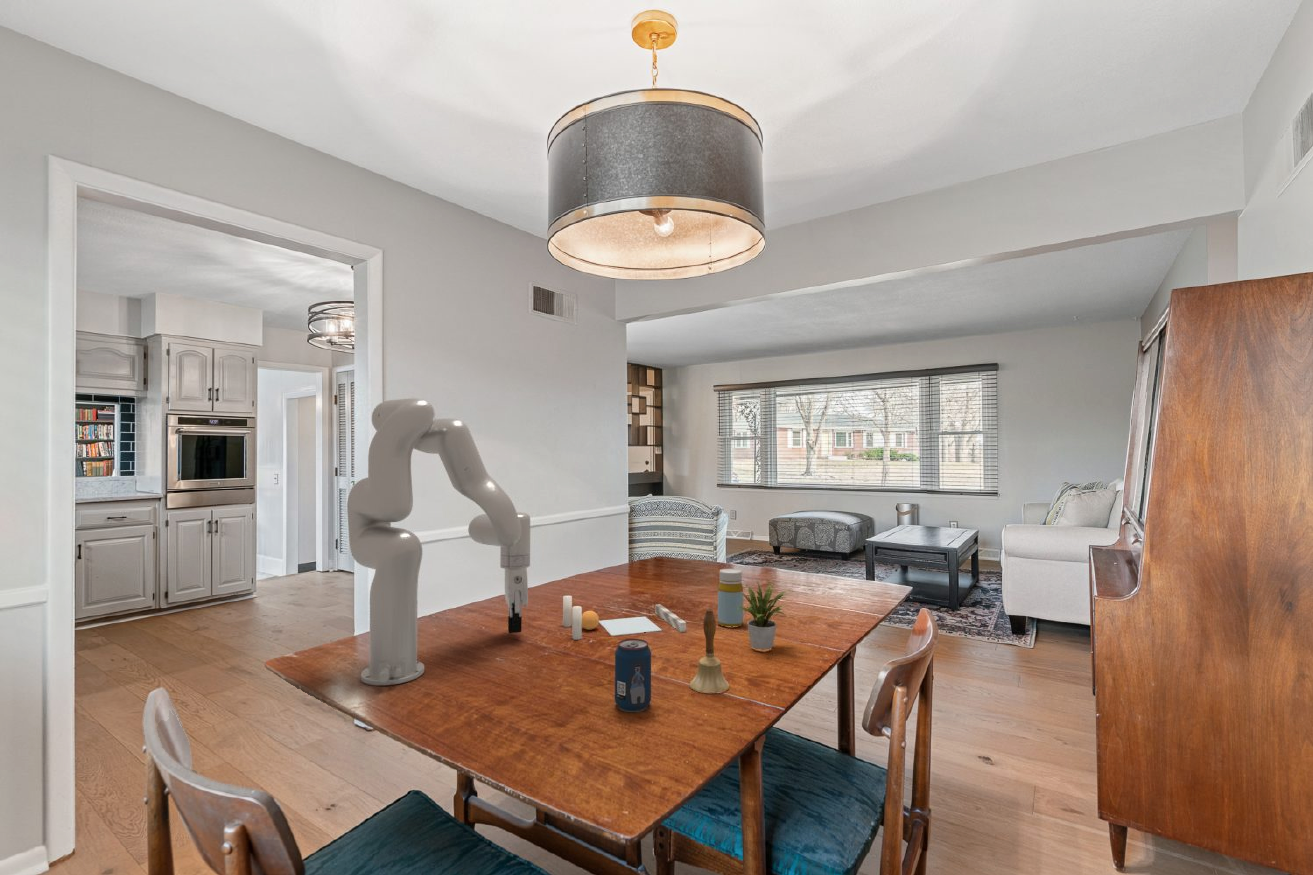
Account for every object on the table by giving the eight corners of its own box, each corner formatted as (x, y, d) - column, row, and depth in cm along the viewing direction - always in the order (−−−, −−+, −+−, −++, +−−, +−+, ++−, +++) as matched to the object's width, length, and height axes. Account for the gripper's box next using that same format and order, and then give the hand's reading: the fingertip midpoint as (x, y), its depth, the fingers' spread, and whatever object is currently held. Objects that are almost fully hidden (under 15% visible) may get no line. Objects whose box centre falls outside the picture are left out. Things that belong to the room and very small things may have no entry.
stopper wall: (686, 631, 166) (686, 622, 166) (680, 632, 165) (680, 623, 165) (660, 612, 185) (660, 604, 185) (655, 613, 184) (655, 604, 184)
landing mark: (661, 630, 167) (661, 630, 167) (611, 636, 162) (611, 635, 162) (644, 617, 180) (644, 616, 180) (598, 621, 175) (598, 620, 175)
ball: (579, 620, 164) (589, 635, 165) (595, 609, 166) (604, 624, 166) (574, 615, 169) (584, 630, 169) (590, 604, 170) (599, 619, 171)
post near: (582, 639, 159) (582, 607, 159) (573, 640, 158) (573, 608, 158) (580, 636, 161) (580, 605, 161) (571, 637, 160) (571, 606, 160)
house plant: (793, 662, 143) (793, 591, 143) (733, 658, 145) (733, 588, 146) (792, 643, 157) (792, 578, 157) (737, 639, 159) (737, 575, 160)
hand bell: (731, 694, 124) (731, 615, 124) (690, 694, 124) (690, 614, 125) (727, 679, 133) (728, 604, 133) (688, 678, 133) (689, 603, 133)
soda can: (631, 695, 124) (631, 635, 124) (658, 705, 119) (658, 642, 119) (607, 706, 118) (607, 643, 118) (634, 717, 114) (634, 651, 114)
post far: (572, 626, 170) (572, 597, 170) (563, 627, 169) (564, 597, 169) (570, 623, 172) (570, 595, 172) (562, 624, 172) (562, 595, 172)
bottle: (742, 621, 176) (742, 568, 176) (743, 629, 169) (743, 573, 169) (717, 620, 176) (718, 568, 176) (717, 628, 169) (718, 573, 169)
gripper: (534, 565, 155) (533, 638, 154) (525, 554, 169) (525, 622, 168) (503, 567, 152) (503, 642, 152) (497, 556, 166) (496, 625, 166)
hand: (514, 631), depth 160 cm, fingers closed
